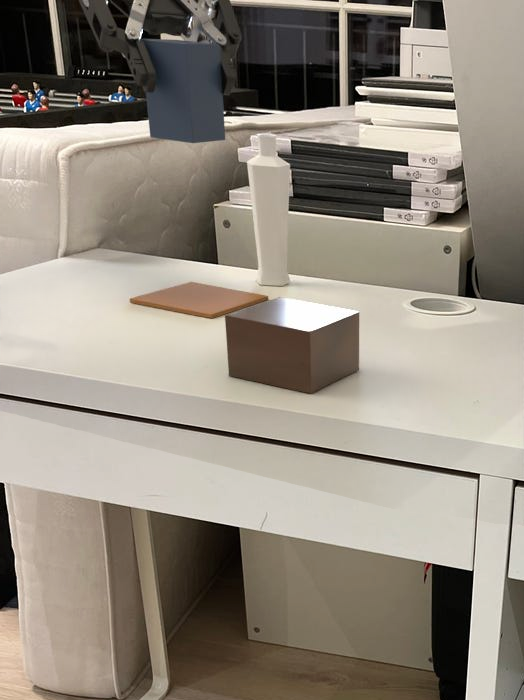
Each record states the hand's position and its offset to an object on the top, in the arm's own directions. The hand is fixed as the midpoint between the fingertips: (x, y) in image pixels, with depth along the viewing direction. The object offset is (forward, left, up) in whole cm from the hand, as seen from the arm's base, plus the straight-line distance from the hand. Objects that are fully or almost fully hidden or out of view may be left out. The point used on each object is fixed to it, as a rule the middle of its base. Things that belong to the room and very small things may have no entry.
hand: (190, 87), depth 90 cm
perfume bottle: (+13, 0, -20) cm, 24 cm away
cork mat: (+1, +1, -20) cm, 20 cm away
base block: (-14, -20, -20) cm, 31 cm away
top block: (+1, +1, -4) cm, 5 cm away
